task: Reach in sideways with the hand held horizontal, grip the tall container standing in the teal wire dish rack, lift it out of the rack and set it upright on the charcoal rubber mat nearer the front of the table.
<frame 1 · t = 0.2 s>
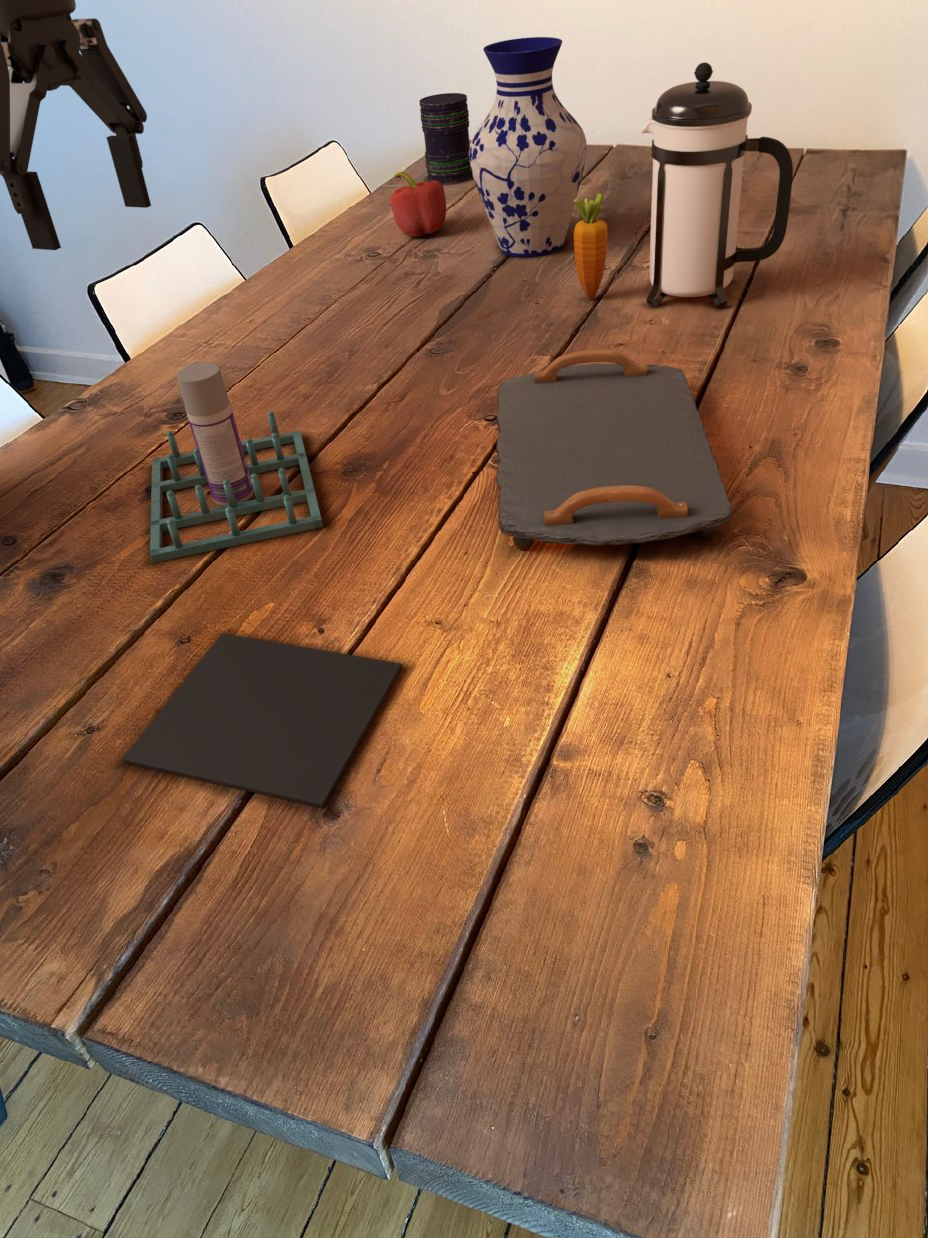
hand: (95, 226, 92), 29 cm above the table, tool pointing down, fingers open, 13 cm apart
storage jar: (450, 178, 200), on the table
mat: (268, 713, 79), on the table
dish rack: (233, 494, 107), on the table
vase: (532, 247, 162), on the table
coffee press: (698, 294, 140), on the table
serving tray: (600, 463, 106), on the table
vegetable: (421, 234, 173), on the table
container: (234, 496, 108), resting in dish rack
carrot: (591, 300, 142), on the table
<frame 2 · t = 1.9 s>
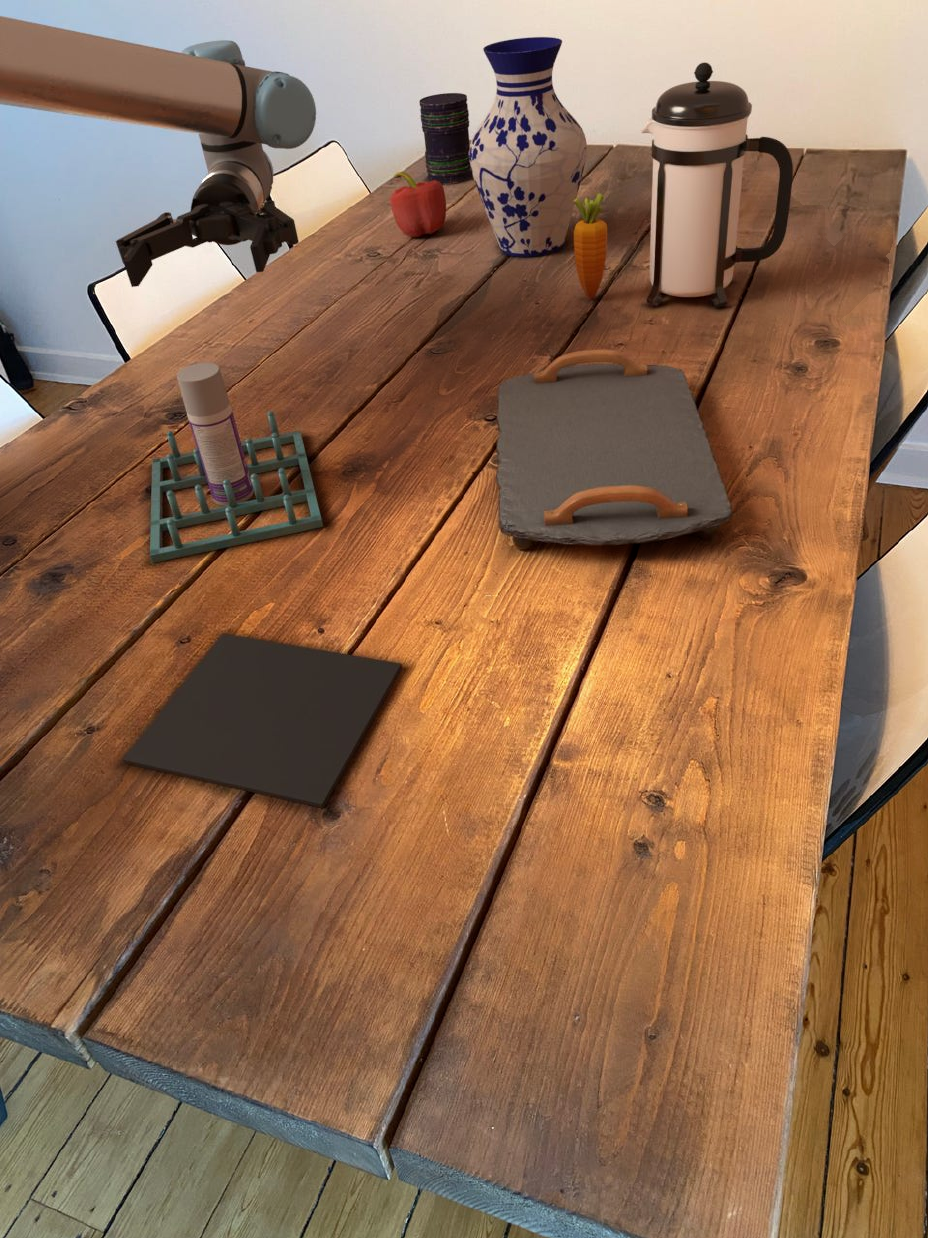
hand: (193, 266, 100), 23 cm above the table, tool horizontal, fingers open, 13 cm apart
nothing on the table moved.
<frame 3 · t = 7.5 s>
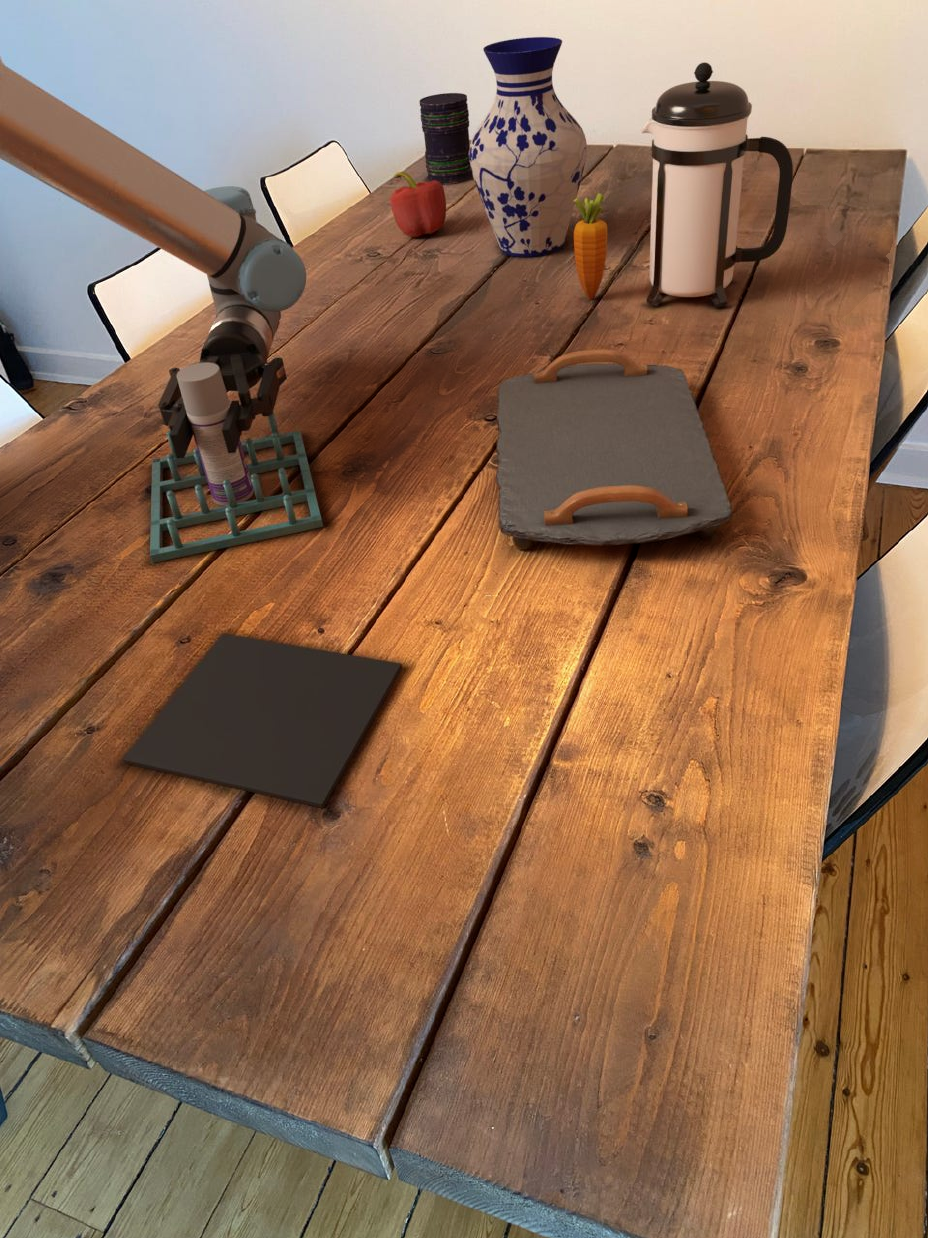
hand: (202, 443, 97), 9 cm above the table, tool horizontal, fingers closed on container, 5 cm apart
container: (233, 496, 108), resting in dish rack, touching gripper
everything else where it was.
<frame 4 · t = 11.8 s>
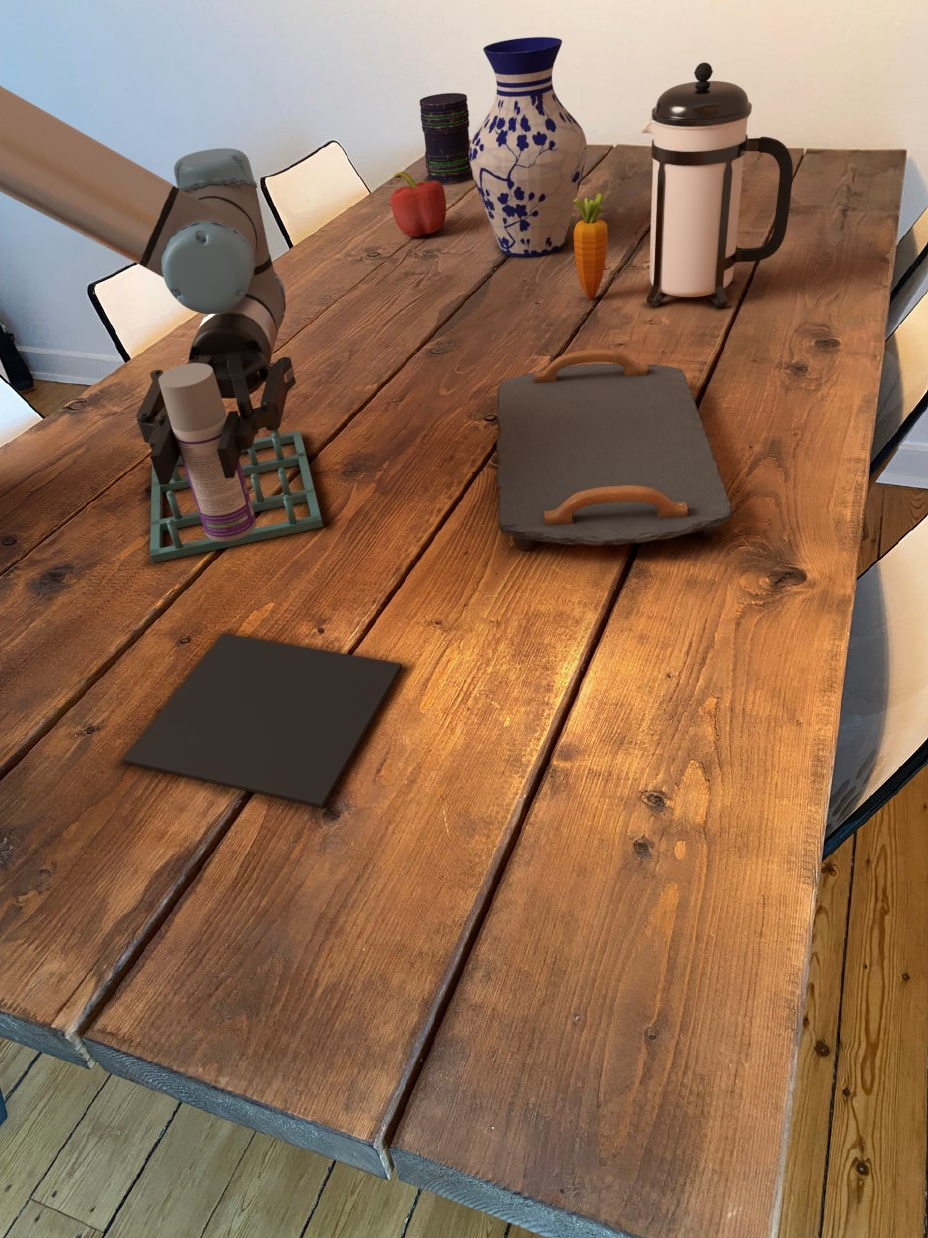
hand: (192, 466, 76), 18 cm above the table, tool horizontal, fingers closed on container, 5 cm apart
container: (231, 529, 87), point 8 cm above the table, touching gripper
everything else where it was.
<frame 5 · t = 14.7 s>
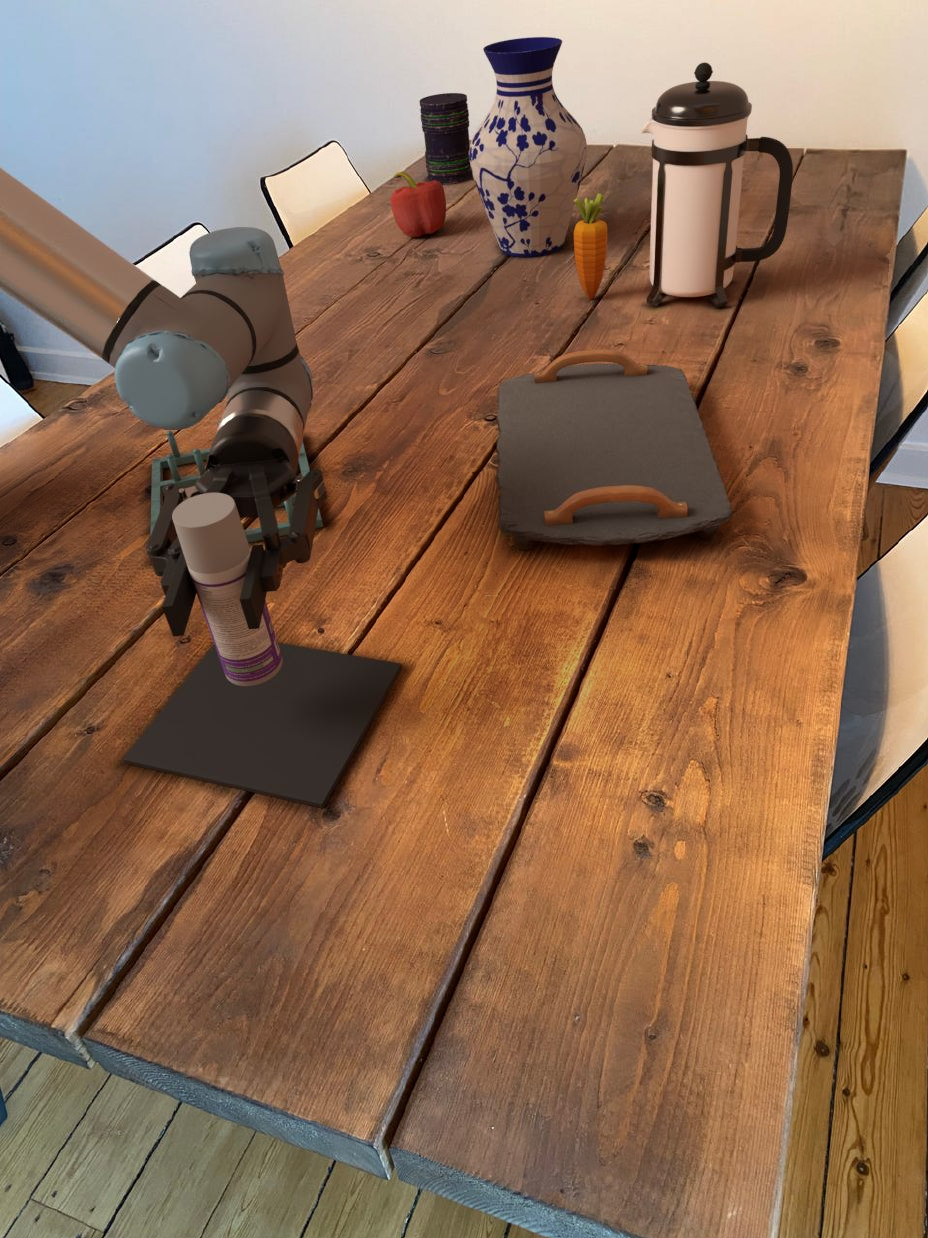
hand: (211, 617, 66), 15 cm above the table, tool horizontal, fingers closed on container, 5 cm apart
container: (254, 668, 76), point 5 cm above the table, touching gripper
everything else where it was.
when the fingers open (10 cm above the table, at t = 16.4 s): container stays where it is, resting on mat.
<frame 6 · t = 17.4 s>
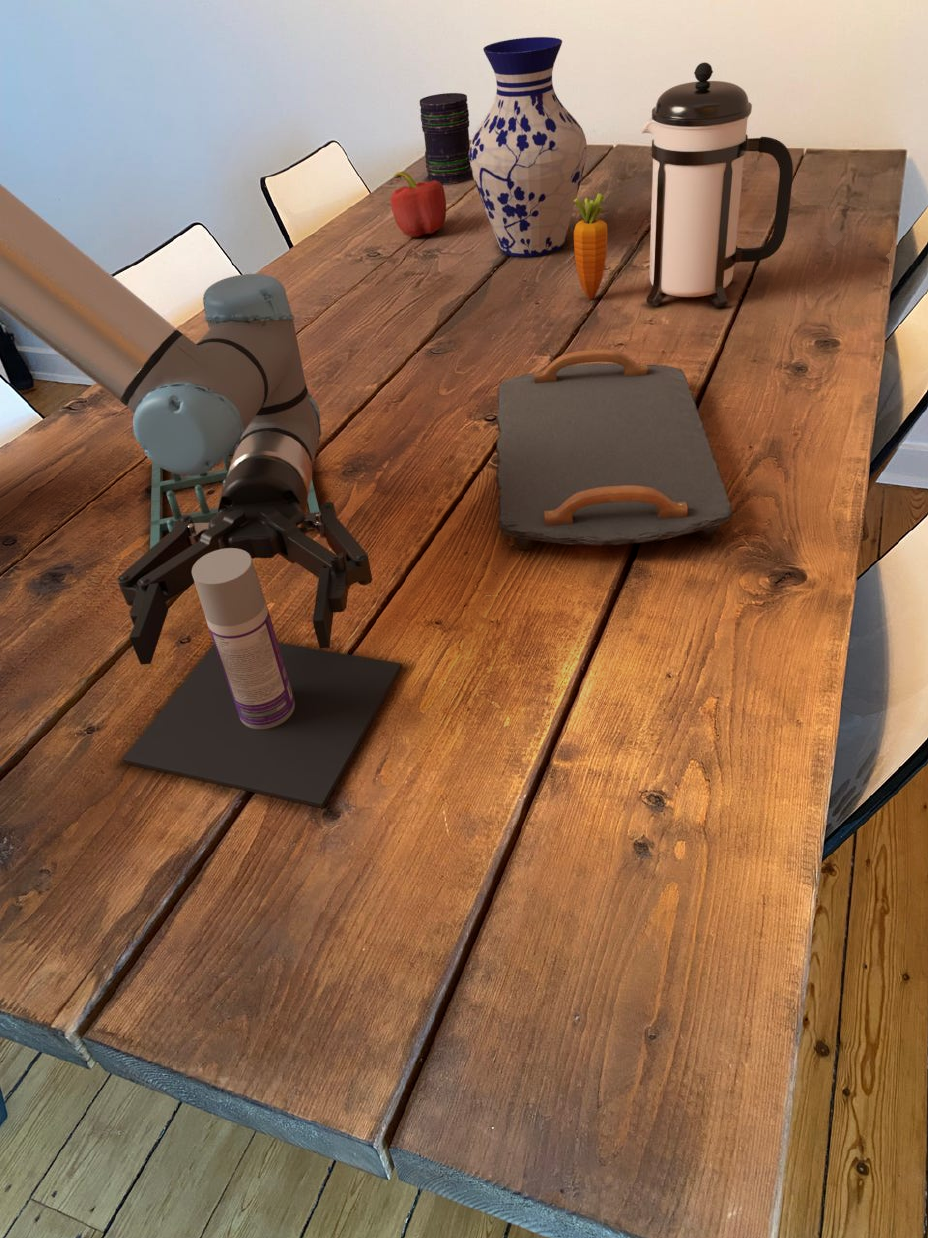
hand: (230, 643, 70), 11 cm above the table, tool horizontal, fingers open, 13 cm apart
container: (267, 711, 79), resting on mat
everything else where it was.
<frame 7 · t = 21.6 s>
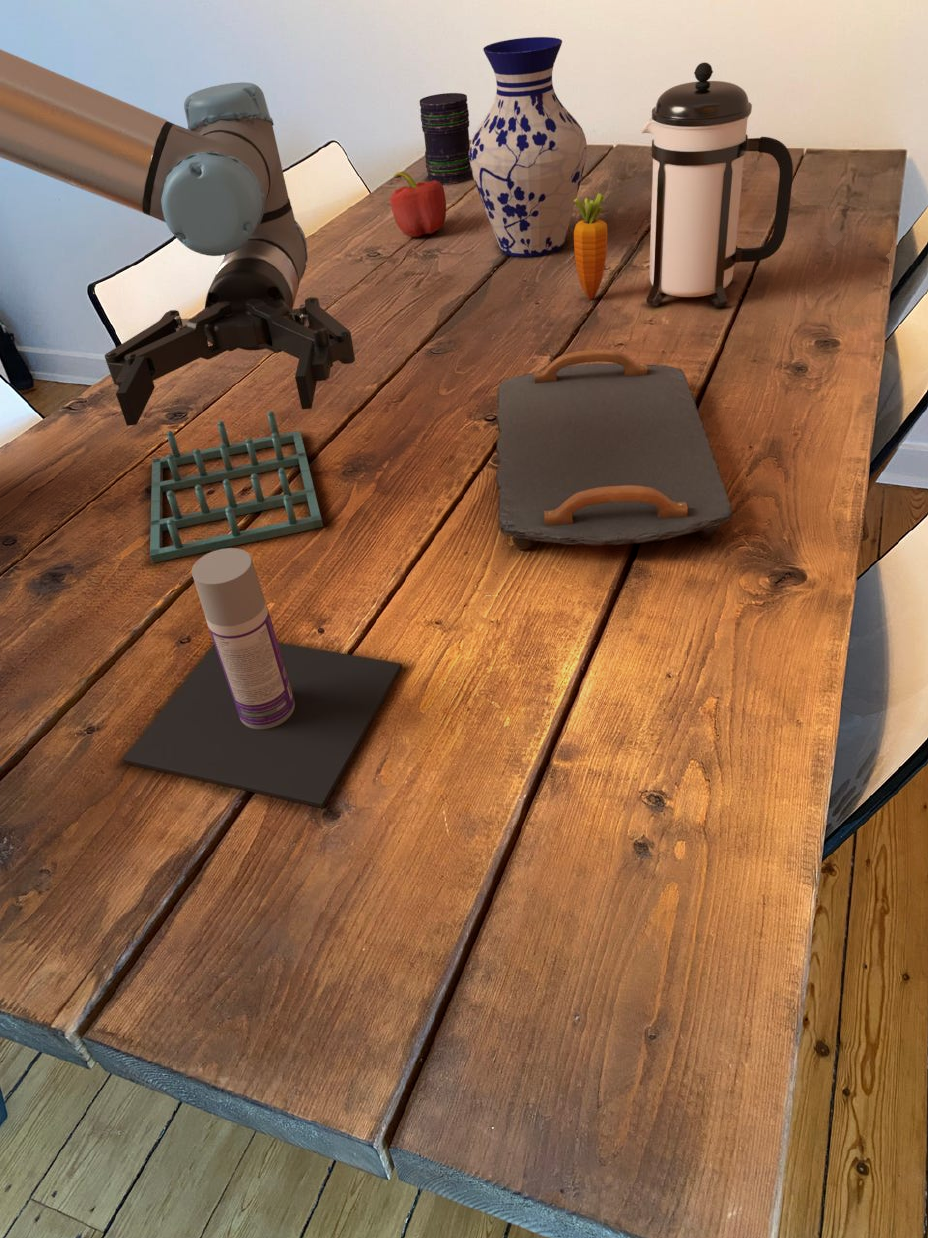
hand: (214, 401, 72), 24 cm above the table, tool horizontal, fingers open, 13 cm apart
nothing on the table moved.
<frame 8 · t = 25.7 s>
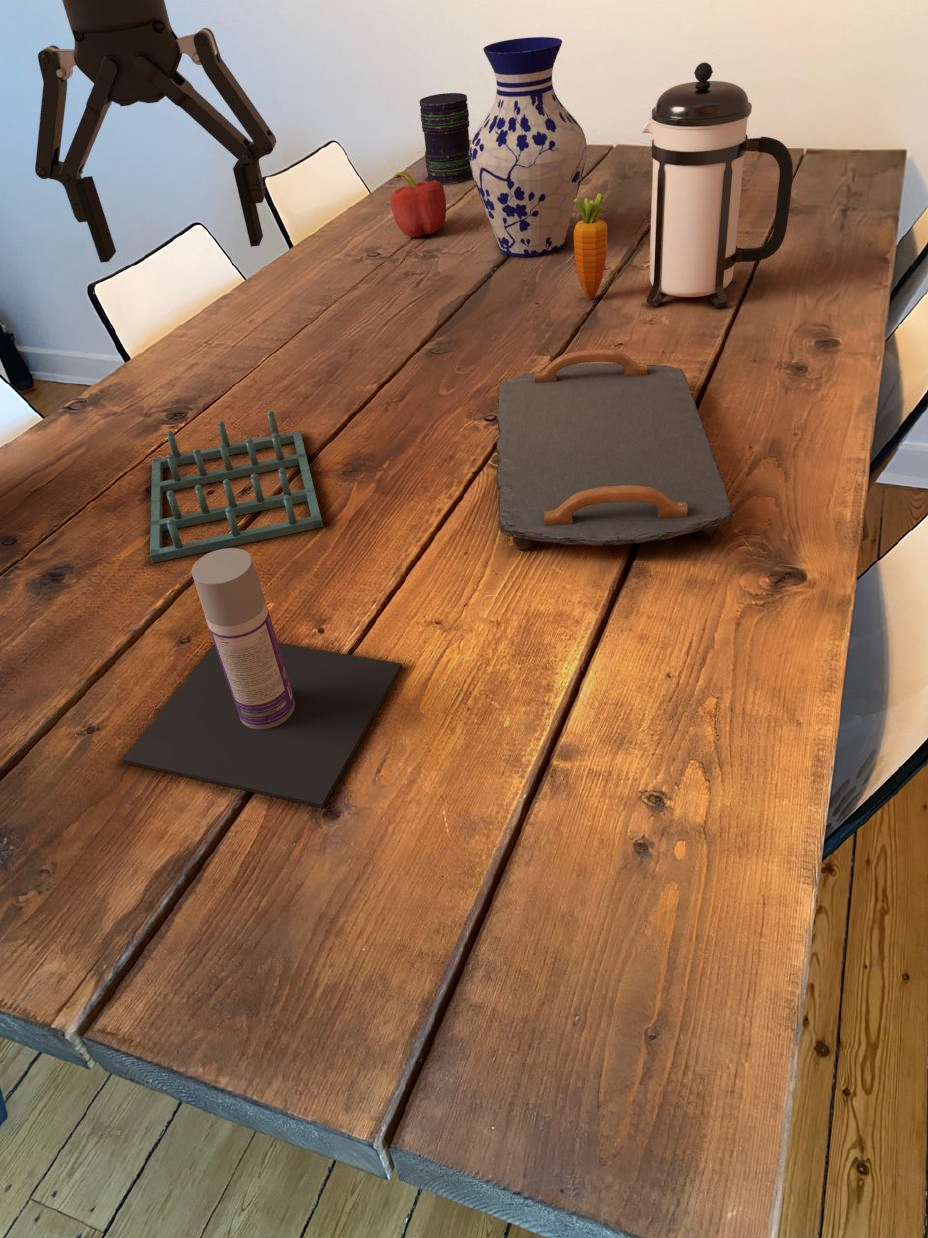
hand: (182, 249, 85), 29 cm above the table, tool pointing down, fingers open, 13 cm apart
nothing on the table moved.
at the end: container inside the target area on the mat (0.0 cm from its centre), point 0.3 cm above the mat's base; container tilted 0°; the gripper is holding nothing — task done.
